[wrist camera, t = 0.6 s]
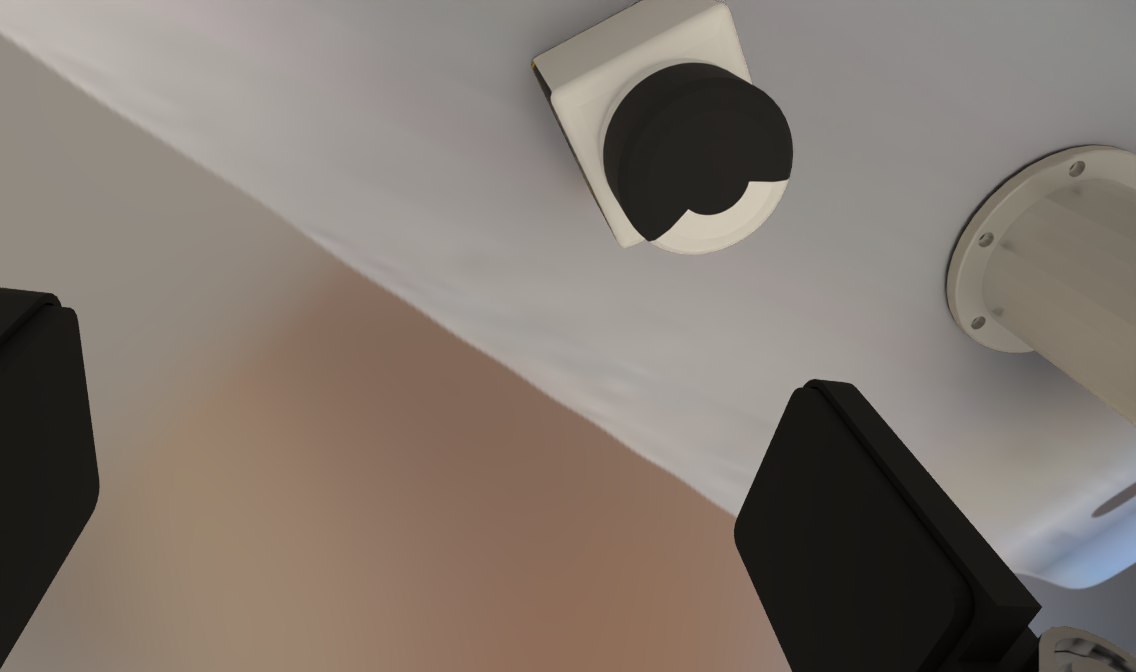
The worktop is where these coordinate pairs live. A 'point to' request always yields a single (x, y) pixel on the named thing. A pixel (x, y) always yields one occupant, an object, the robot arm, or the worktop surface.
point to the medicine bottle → (669, 125)
